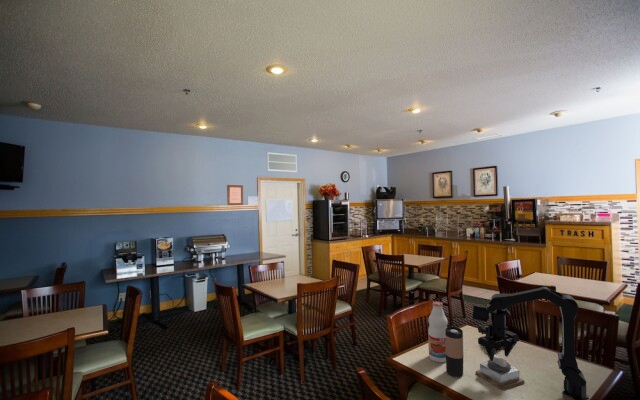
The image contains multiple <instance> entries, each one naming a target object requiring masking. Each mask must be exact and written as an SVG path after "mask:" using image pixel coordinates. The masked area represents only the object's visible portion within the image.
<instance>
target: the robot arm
mask: <svg viewBox="0 0 640 400" xmlns="http://www.w3.org/2000/svg"><path fill="white" fill-rule="evenodd" d="M543 299H545V300H547V301H549V302H551V303H553V304H554V305H556V306H558V307H559V310H560V313H561V327H562V330H561V331H562V351H561V353H560V352H557V353H556V354H557V366H558V368H559V370H561V373H562V375H563V376H564V379H563V390H562V393H563V394H564V395H566V396H567V397H570V398H572V399H573V400H587V399H589V398H590V395H588V394H587V383H588V382H587V381H586V378H585V376H584V373H583V371H582V370H580V368H579V366H578V362H577V358H576V347H575V345H576V344H575V343H576V341H575V337H576V336H575V335H576V334H575V321H576V320H575V319H576V317H577V315H578V311H579V304H578V303H577V300H576V299H575V298H574V297H573V296H571V295H569V294H563V293H561V292H559V291H555V290H554V289H550V288H549V287H547V286H540V287H538V288H533V289H528V290H523V291H518V292H514V293H504V292H503V293H494V294H493V295H492V296H491V298H490V301H489V302H488V303H487V304H486V306H483V305H478V304H473V305H472V306H473V307H472V308H473V310H472V320H473V321H479V322H483V323H484V322H485V323H487V322H488V321H490V323H488V324H489V325H488V326H486V325H483V324H480V325H477V331H478V334H481V335H484V336H480V337H478V338H477V344H479V346H482V347H483V348H484V349H485V351H486V353H487V356H488V358H489V359H488V360H491V361H493V358H494V355H496V351H495V350H496V348H495V345H496V342H500V341H503V343H504V345H503V353H504V356H505V357H506V358H507V357H509V356H510V353H511V352H512V350H513V349H514V346H515V345H516V344H518V342H519V341H520V337H519V335H518V334H517V333H515V332H513V331H510V330H509V327H508V326H507V325H506V323H507V318H506V316H507V317H511V312H510V311H509V310H508V309H507V308H510V307H512V306H513V305H516V304H520V303H521V304H522V303H526V302H531V301H537V300H543ZM486 334H488V336H491V337H492V338H488V337H486ZM588 397H589V398H588ZM586 398H587V399H586Z"/></svg>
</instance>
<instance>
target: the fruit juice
mask: <svg viewBox="0 0 640 400" xmlns="http://www.w3.org/2000/svg"><path fill="white" fill-rule="evenodd" d="M443 306H444V305H443V302H441V301H433V302H432V310H431V312H430V314H429V316H428V319H427V320H428V321H427V322H428V324H429V326H428V331H427V334H428V336H427V337H428V338H427V339H428V341H427V342H428V357H429V359H430V360H431V361H433V362H436V363H446V347H445V329H446V328H447V327H448V324H449V323H448V322H449V321H448V318H447V316H446V315H445V311H444V309H443Z"/></svg>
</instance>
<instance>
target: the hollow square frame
mask: <svg viewBox="0 0 640 400" xmlns="http://www.w3.org/2000/svg"><path fill="white" fill-rule="evenodd" d="M479 370H480V372H481V373H482V374H484V375H486V376H487V377H489V378H491V379H492V380H494V381H496V382H497V383H499V384H501V385H502V384H506V383H509V382H512V381H515V380H518V379H520V378H521V377H520V369H518V368H516V367H514V366H513V365H511V370H510V371H508V372H499V371H496V370H494V369H492V368H490V367H489V366H488V360H487V361H483V362H480V363H479Z"/></svg>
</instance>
